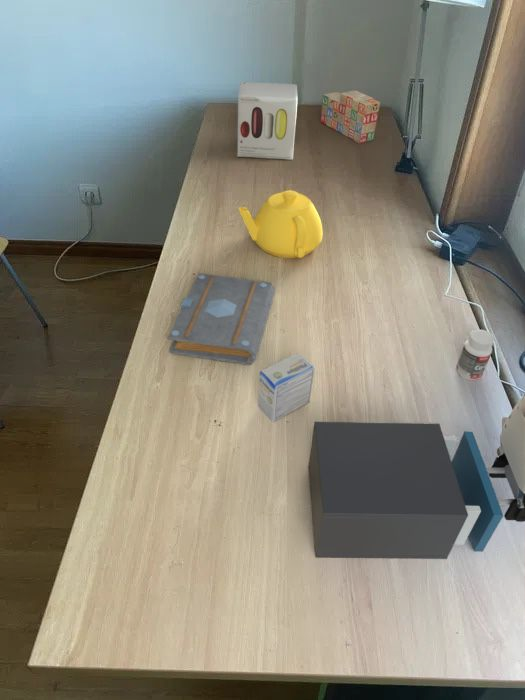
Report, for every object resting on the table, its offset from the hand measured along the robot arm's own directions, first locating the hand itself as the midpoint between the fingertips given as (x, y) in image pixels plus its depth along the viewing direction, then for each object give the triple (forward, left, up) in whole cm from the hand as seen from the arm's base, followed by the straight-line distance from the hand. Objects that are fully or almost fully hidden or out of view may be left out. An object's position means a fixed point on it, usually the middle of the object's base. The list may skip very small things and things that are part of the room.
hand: (507, 495), depth 78 cm
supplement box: (+32, -127, -4) cm, 131 cm away
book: (+41, -41, -4) cm, 58 cm away
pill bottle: (-4, -29, -4) cm, 30 cm away
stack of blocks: (+5, -145, -4) cm, 145 cm away
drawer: (+10, 0, -3) cm, 10 cm away
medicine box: (+30, -20, -4) cm, 36 cm away
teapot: (+29, -71, -4) cm, 77 cm away
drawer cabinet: (+18, 0, -4) cm, 19 cm away
